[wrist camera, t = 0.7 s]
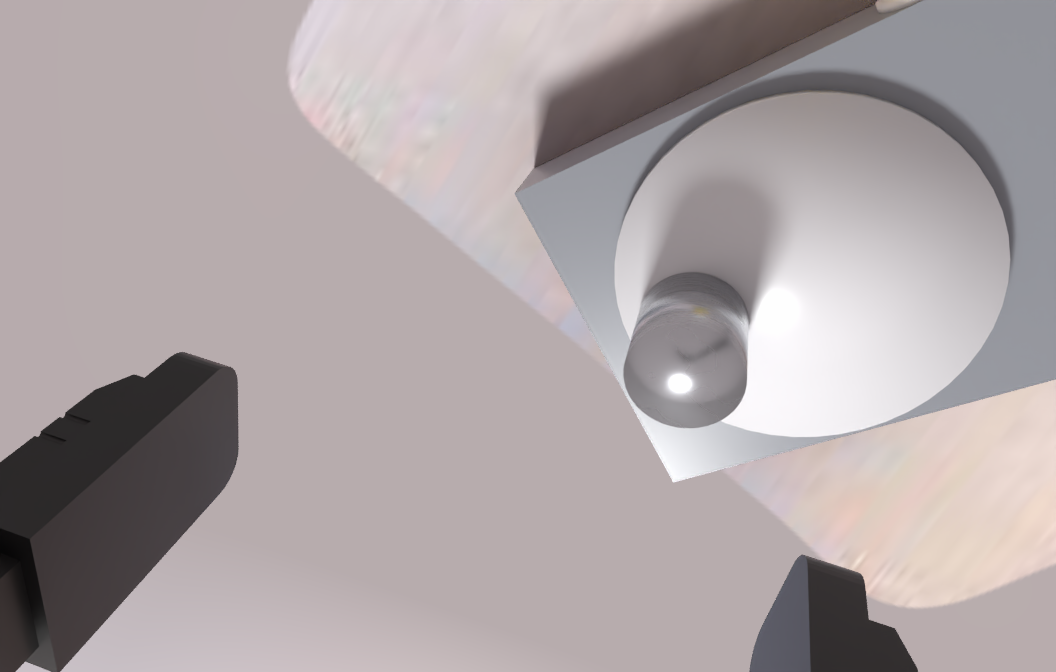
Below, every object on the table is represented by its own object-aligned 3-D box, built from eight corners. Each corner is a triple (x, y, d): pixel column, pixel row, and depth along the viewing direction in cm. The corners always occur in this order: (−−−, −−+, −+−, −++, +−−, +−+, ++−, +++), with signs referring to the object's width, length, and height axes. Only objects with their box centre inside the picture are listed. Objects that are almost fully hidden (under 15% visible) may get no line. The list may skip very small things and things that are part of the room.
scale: (1028, -86, 25) (1065, -79, 22) (1139, 306, 30) (1181, 355, 27) (528, 159, 33) (504, 188, 30) (679, 440, 37) (672, 491, 34)
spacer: (722, 255, 29) (717, 306, 26) (765, 348, 30) (766, 408, 27) (620, 295, 31) (603, 347, 27) (665, 381, 32) (654, 441, 29)
